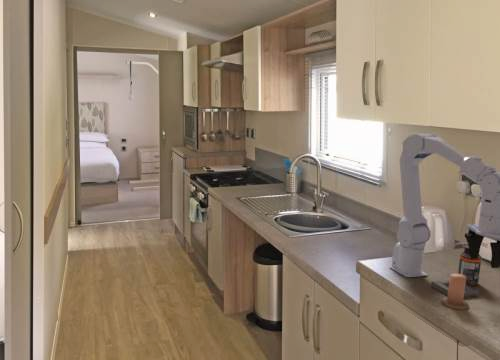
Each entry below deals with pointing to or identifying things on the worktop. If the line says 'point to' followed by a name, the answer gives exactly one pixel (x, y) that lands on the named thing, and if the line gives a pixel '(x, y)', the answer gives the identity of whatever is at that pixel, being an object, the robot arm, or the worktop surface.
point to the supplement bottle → (469, 267)
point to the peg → (456, 289)
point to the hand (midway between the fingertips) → (484, 262)
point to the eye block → (444, 287)
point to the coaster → (459, 307)
